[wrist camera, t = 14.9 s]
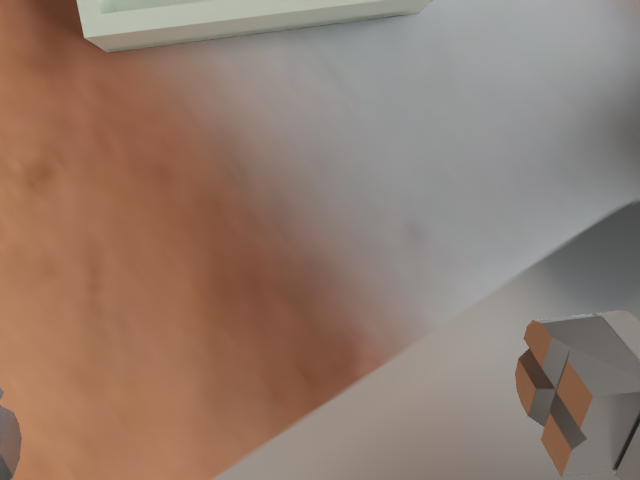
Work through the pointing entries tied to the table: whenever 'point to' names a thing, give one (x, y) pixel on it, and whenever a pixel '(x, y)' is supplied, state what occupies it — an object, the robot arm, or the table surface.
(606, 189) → the table surface
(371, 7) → the sage tray
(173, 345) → the table surface
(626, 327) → the robot arm
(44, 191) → the table surface
